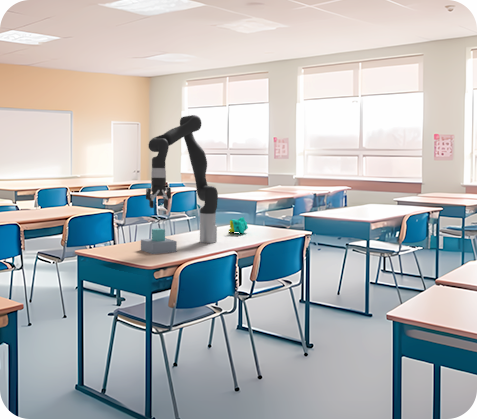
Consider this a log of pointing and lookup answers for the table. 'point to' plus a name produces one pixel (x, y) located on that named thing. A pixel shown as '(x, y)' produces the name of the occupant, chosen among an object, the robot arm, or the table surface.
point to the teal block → (158, 234)
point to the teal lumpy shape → (238, 225)
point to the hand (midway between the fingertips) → (158, 207)
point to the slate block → (158, 246)
